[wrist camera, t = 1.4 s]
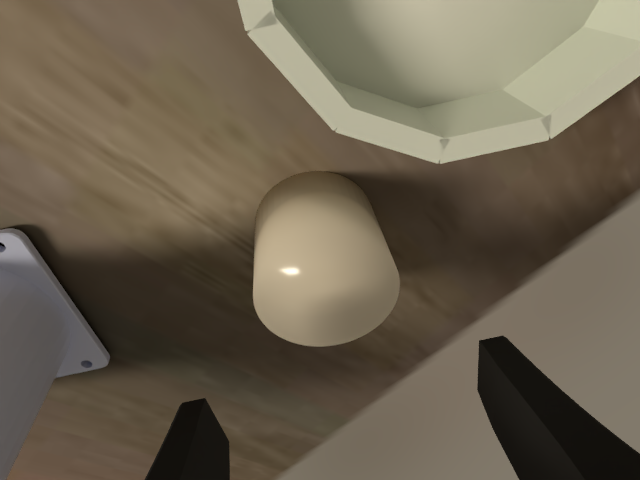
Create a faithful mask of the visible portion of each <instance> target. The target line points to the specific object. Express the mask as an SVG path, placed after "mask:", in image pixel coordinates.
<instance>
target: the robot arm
mask: <svg viewBox="0 0 640 480" xmlns="http://www.w3.org/2000/svg"><path fill="white" fill-rule="evenodd" d="M0 242H1V243H3V244H4V245H5V247H3V246H1V245H0V480H6V479H7V477H8V475H9V473H10V471H11V468H12V466H13V464H14V462H15V460H16V458H17V456H18V454H19V452H20V450H21V448H22V446H23V444H24V441H25V439H26V437H27V435H28V433H29V431H30V429H31V427H32V425H33V423H34V421H35V419H36V416H37V414H38V412H39V410H40V408H41V406H42V404H43V402H44V400H45V398H46V396H47V394H48V392H49V389H50V387H51V385H52V383H53V381H54V379H55V378H57V377H62V376H66V375H71V374H76V373H81V372H85V371H90V370H95V369H99V368H103V367H106V366H107V365H108V362H109V360H110V355H109V353H108V352H107V350H106V349H105V347H104V346H103V345H102V343H101V342H100V340H99V339H98V337H97V336H96V335H95V333H94V332H93V330H92V329H91V327H90V326H89V324H88V323H87V322H86V320H85V319H84V317H83V316H82V314H81V313H80V312H79V310H78V309H77V307H76V306H75V304H74V303H73V301H72V300H71V299H70V297H69V296H68V294H67V293H66V291H65V290H64V289H63V287H62V286H61V284H60V283H59V281H58V280H57V278H56V277H55V276H54V274H53V273H52V271H51V270H50V268H49V267H48V266H47V264H46V263H45V261H44V260H43V258H42V257H41V255H40V254H39V253H38V251H37V250H36V248H35V247H34V245H33V244H32V243H31V241H30V240H29V238H28V237H27V236H26V235H25V234H24V233H23V232H22V231H20V230H17V229H13V228H8V229H3V230H0ZM86 360H87V361H86ZM478 392H479V395H480V397H481V400H482V403H483V405H484V408H485V410H486V413H487V415H488V418H489V420H490V423H491V425H492V428H493V430H494V432H495V434H496V436H497V437H498V440H499V441H500V443H501V445H502V447H503V449H504V451H505V453H506V455H507V457H508V459H509V461H510V463H511V464H512V466H513V468H514V470H515V472H516V474H517V476H518V478H519V480H640V454H639V453H638V452H637V451H635V450H634V449H632V448H631V447H630V446H629V445H627V444H626V443H625V442H624V441H622V440H621V439H620V438H618V437H617V436H616V435H615V434H613V433H612V432H611V431H610V430H608V429H607V428H606V427H604V426H603V425H602V424H601V423H600V422H598V421H597V420H596V419H595V418H594V417H592V416H591V415H590V414H589V413H588V412H586V411H585V410H584V409H583V408H582V407H580V406H579V405H578V404H577V403H576V402H575V401H574V400H572V399H571V398H570V397H569V396H568V395H567V394H565V393H564V392H563V391H562V390H561V389H560V388H559V387H558V386H556V385H555V384H554V383H553V382H552V381H551V380H550V379H549V378H547V376H545V375H544V374H543V373H542V372H541V371H540V370H539V369H538V368H537V367H536V366H535V365H534V364H533V363H532V362H531V361H529V360H528V359H527V358H526V357H525V356H524V355H523V354H522V353H521V352H520V351H519V350H518V349H517V348H516V347H515V346H514V345H513V344H512V343H511V342H510V341H509V340H508V339H507V338H506V337H504V336H499V337H494V338H490V339H485V340H480V341H479V362H478ZM145 480H230V463H229V441H228V439H227V437H226V435H225V433H224V431H223V430H222V428H221V426H220V424H219V422H218V421H217V419H216V417H215V415H214V413H213V412H212V410H211V408H210V406H209V404H208V402H207V401H206V399H205V398H203V399H199V400H194V401H189V402H184V403H182V404H181V405H180V407H179V409H178V411H177V413H176V415H175V418H174V420H173V422H172V424H171V426H170V429H169V431H168V433H167V435H166V437H165V439H164V442H163V444H162V446H161V448H160V450H159V452H158V454H157V456H156V458H155V460H154V462H153V464H152V466H151V468H150V470H149V472H148V474H147V476H146V478H145Z"/></svg>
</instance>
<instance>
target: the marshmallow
mask: <svg viewBox="0 0 640 480" xmlns="http://www.w3.org/2000/svg"><path fill="white" fill-rule="evenodd" d="M399 290H400V278H399V273H398V270H397V268H396V265H395V263H394V260H393V258H392V255H391V253H390V250H389V248H388V245H387V243H386V241H385V238H384V236H383V233H382V231H381V228H380V226H379V224H378V221H377V219H376V216H375V214H374V211H373V209H372V207H371V204H370V202H369V200H368V198H367V196H366V194H365V193H364V192H363V191H362V189H361V188H360V187H359V186H358V185H356V184H355V183H354V182H352V181H351V180H349V179H347V178H345V177H343V176H341V175H338V174H335V173H330V172H323V171H311V172H304V173H300V174H296V175H293V176H291V177H289V178H286V179H285V180H283V181H281V182H280V183H278V184H277V185H276V186H274V187H273V188H272V189H271V190H270V191H269V192H268V193H267V194H266V196H265V197H264V198H263V200H262V202H261V203H260V205H259V208H258V210H257V214H256V218H255V243H254V277H253V302H254V307H255V310H256V312H257V315H258V317H259V318H260V320H261V321H262V323H263V324H264V325H265V326H266V327H267V328H268V329H269V330H270V331H272V332H273V333H274V334H276V335H277V336H279V337H281V338H283V339H285V340H287V341H290V342H293V343H296V344H300V345H305V346H320V347H322V346H333V345H339V344H343V343H347V342H350V341H353V340H355V339H358V338H360V337H362V336H364V335H366V334H367V333H369V332H371V331H372V330H374V329H375V328H376V327H378V326H379V325H380V324H381V323H382V322H383V321H384V320H385V319H386V318H387V317H388V315H389V314H390V313H391V311H392V310H393V308H394V306H395V304H396V302H397V299H398V296H399Z"/></svg>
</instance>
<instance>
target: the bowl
mask: <svg viewBox="0 0 640 480" xmlns="http://www.w3.org/2000/svg"><path fill="white" fill-rule="evenodd" d="M238 4H239V8H240V12H241V15H242V19H243V23H244V27H245V31H248V33H247V35H248V36H249V37H250V38H251V39H252V40H253V41H254V42H255V44H256V45H257V46H258V47H259V48H260V49H261V50H262V51H263V52H264V54H265V55H266V56H267V57H268V58H269V59H270V60H271V61H272V63H273V64H274V65H275V66H276V67H277V68H278V69H279V70H280V72H281V73H282V74H283V75H284V76H285V77H286V78H287V79H288V81H289V82H290V83H291V84H292V85H293V86H294V87H295V88H296V90H297V91H298V92H299V93H300V94H301V95H302V96H303V97H304V99H305V100H306V101H307V102H308V103H309V104H310V105H311V106H312V108H313V109H314V110H315V111H316V112H317V113H318V114H319V115H320V117H321V118H322V119H323V120H324V121H325V122H326V123H327V124H328V125H329V127H330V128H331V129H332V130H333V131H334V130H335V132H336V133H339V134H343V135H346V136H349V137H352V138H356V139H359V140H362V141H365V142H369V143H372V144H375V145H378V146H382V147H385V148H388V149H391V150H395V151H398V152H401V153H405V154H408V155H411V156H414V157H418V158H421V159H424V160H427V161H431V162H434V163H437V164H438V162H439V163H440V164H441V163H446V162H451V161H455V160H460V159H464V158H469V157H474V156H478V155H483V154H487V153H492V152H497V151H501V150H506V149H510V148H515V147H520V146H524V145H529V144H533V143H538V142H543V141H547V140H549V138H550V139H552V138H553V137H555V136H556V135H558V134H559V133H560V132H562V131H563V130H565V129H566V128H567V127H569V126H570V125H571V124H573V123H574V122H576V121H577V120H578V119H580V118H581V117H583V116H584V115H585V114H587V113H588V112H590V111H591V110H592V109H594V108H595V107H597V106H598V105H599V104H601V103H602V102H604V101H605V100H606V99H608V98H609V97H611V96H612V95H613V94H615V93H616V92H618V91H619V90H620V89H622V88H623V87H625V86H626V85H627V84H629V83H630V82H632V81H633V80H634V79H636V78H637V77H639V76H640V0H238Z"/></svg>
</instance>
